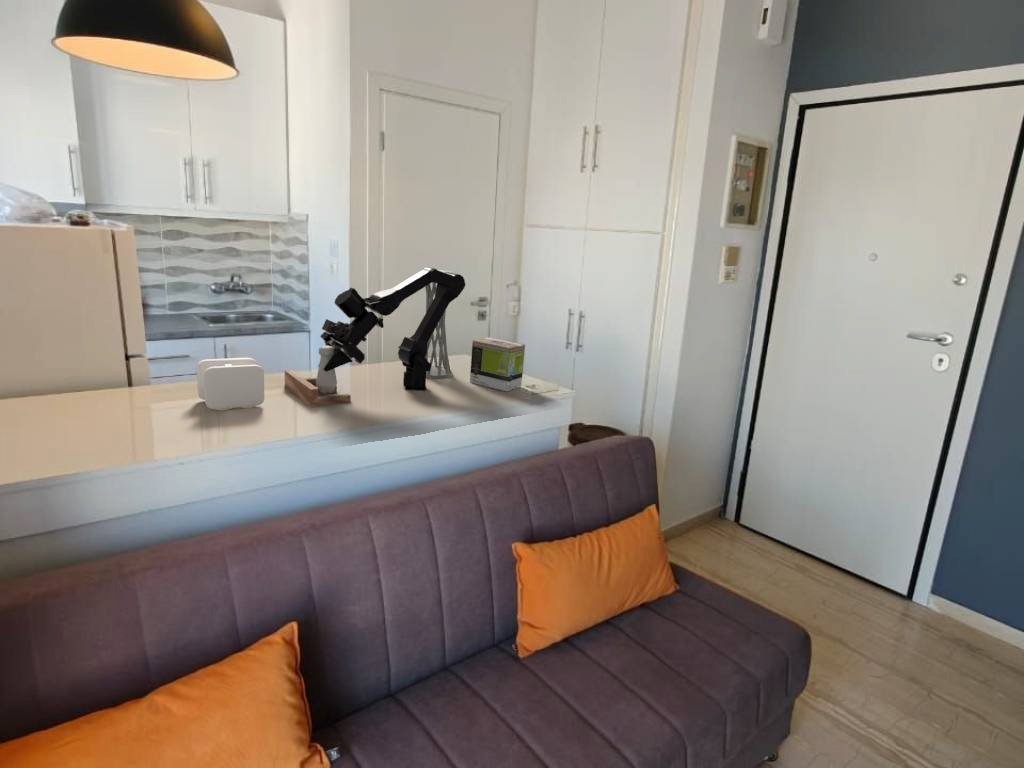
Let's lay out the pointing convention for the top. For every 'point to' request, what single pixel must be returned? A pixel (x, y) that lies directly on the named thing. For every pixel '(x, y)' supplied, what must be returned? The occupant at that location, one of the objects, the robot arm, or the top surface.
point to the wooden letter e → (311, 391)
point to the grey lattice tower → (443, 356)
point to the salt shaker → (326, 379)
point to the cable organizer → (230, 383)
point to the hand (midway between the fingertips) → (321, 369)
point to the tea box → (497, 363)
